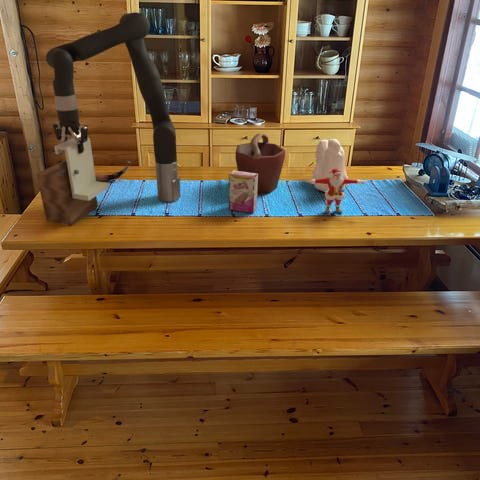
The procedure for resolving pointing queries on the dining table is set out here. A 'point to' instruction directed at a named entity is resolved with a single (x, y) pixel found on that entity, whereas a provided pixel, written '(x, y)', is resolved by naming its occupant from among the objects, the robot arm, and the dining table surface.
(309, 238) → the dining table surface
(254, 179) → the candy bar box
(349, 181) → the santa figurine
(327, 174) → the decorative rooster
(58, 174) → the cabinet
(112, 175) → the drinking horn
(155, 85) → the robot arm
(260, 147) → the bucket
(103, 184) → the white angled bracket
